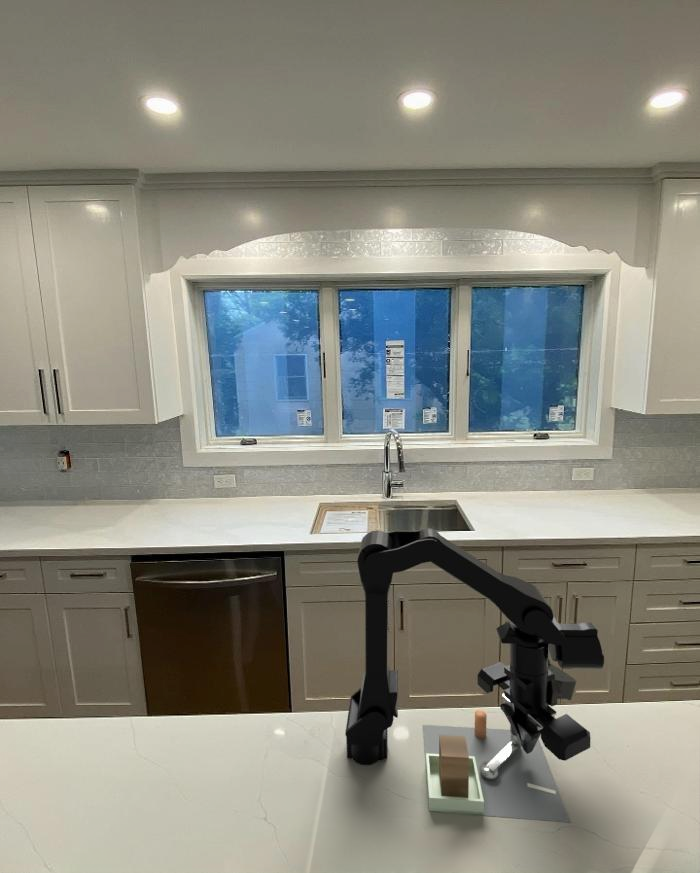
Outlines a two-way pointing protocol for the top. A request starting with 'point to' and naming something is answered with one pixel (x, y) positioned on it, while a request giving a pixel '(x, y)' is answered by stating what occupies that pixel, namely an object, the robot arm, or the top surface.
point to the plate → (506, 773)
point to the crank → (500, 758)
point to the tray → (453, 804)
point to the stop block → (453, 766)
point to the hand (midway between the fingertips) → (528, 751)
